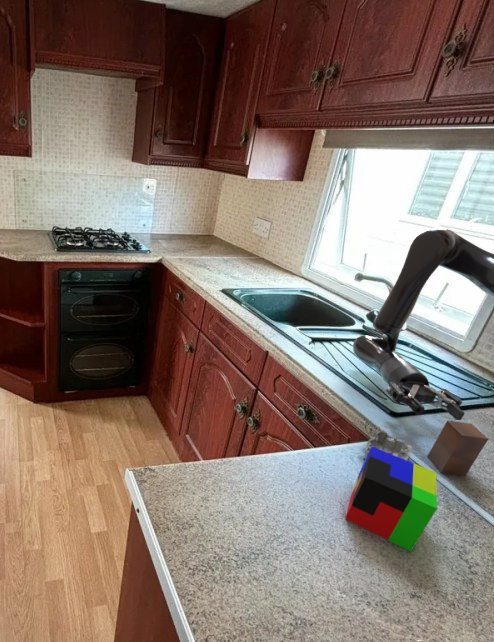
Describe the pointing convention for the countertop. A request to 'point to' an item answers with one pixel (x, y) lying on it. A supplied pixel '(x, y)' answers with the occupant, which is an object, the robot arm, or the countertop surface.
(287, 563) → the countertop surface
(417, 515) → the puzzle toy
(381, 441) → the egg carton
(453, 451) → the walnut block
